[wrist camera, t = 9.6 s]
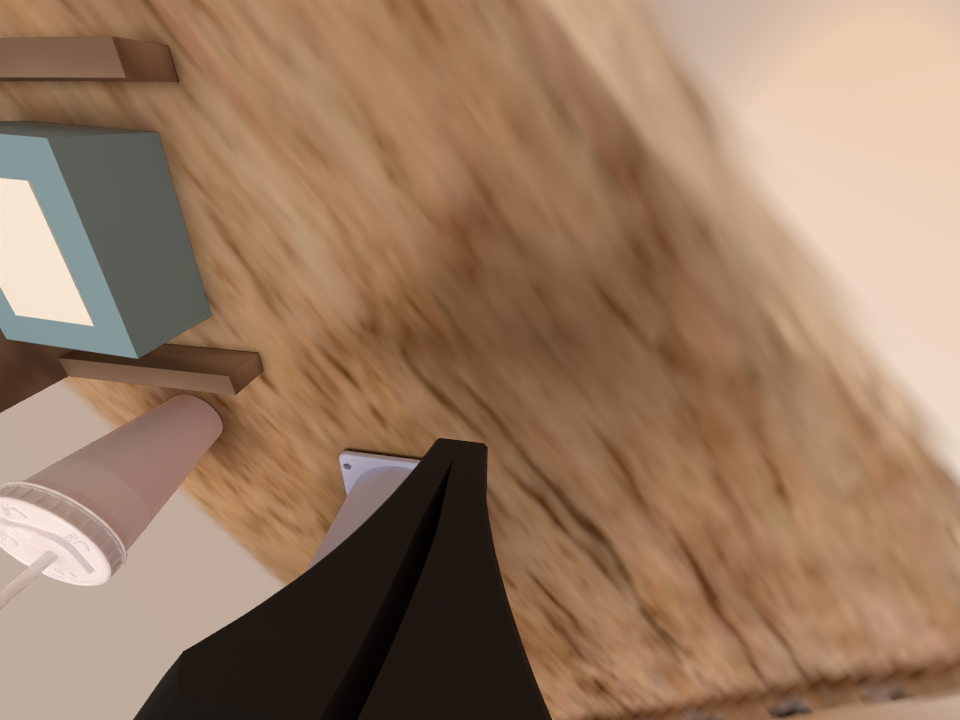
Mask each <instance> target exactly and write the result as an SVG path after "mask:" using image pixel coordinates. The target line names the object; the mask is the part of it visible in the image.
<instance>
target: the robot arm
mask: <svg viewBox="0 0 960 720" xmlns="http://www.w3.org/2000/svg"><path fill="white" fill-rule="evenodd" d="M487 455H488V447H487V446H486V445H485V444H484V443H476V442H468V441H460V440H452V439H443V438H439V439H438V440H436V441H435V443H434V444H433V445H432V447H431V448H430V449H429V451H428V452H427V453H426V455H425V456H424V457H423V458H422V460H415V459H407V458H399V457H391V456H383V455H376V454H368V453H360V452H352V451H344V452H342V453H341V455H340V456H339V461H340V466H341V470H342V475H343V480H344V484H345V489H346V494H347V498H346V499H345V501H344V503H343V505H342V507H341V508H340V510H339V512H338V514H337V516H336V517H335V519H334V521H333V523H332V525H331V526H330V528H329V530H328V532H327V534H326V535H325V537H324V539H323V541H322V543H321V544H320V546H319V548H318V550H317V552H316V554H315V555H314V557H313V559H312V561H311V563H310V564H309V566H308V568H307V570H306V572H305V573H304V574H302V575H301V576H300V577H298V578H297V579H296V580H294V581H293V582H292V583H290V584H289V585H287V586H286V587H284V588H283V589H281V590H280V591H279V592H277V593H276V594H274V595H273V596H271V597H270V598H268V599H267V600H266V601H264V602H263V603H262V604H260V605H258V606H257V607H255V608H254V609H252V610H251V611H249V612H248V613H246V614H245V615H243V616H242V617H240V618H238V619H237V620H235V621H233V622H232V623H230V624H228V625H227V626H225V627H223V628H222V629H220V630H219V631H217V632H215V633H214V634H212V635H210V636H209V637H207V638H205V639H204V640H202V641H201V642H199V643H197V644H195V645H194V646H192V647H190V648H188V649H187V650H185V651H183V653H182V654H181V655H180V656H179V658H178V659H177V660H176V662H175V663H174V664H173V665H172V667H171V668H170V669H169V670H168V671H167V672H166V674H165V675H164V677H163V678H162V679H161V681H160V682H159V684H158V685H157V686H156V688H155V689H154V691H153V692H152V693H151V695H150V696H149V698H148V699H147V701H146V702H145V704H144V705H143V706H142V708H141V709H140V711H139V712H138V714H137V715H136V716H135V718H134V719H133V720H552V719H551V716H550V714H549V711H548V709H547V707H546V704H545V702H544V699H543V697H542V694H541V692H540V689H539V687H538V684H537V682H536V679H535V677H534V674H533V672H532V669H531V666H530V664H529V661H528V658H527V655H526V653H525V650H524V647H523V645H522V642H521V639H520V635H519V632H518V629H517V626H516V623H515V620H514V617H513V614H512V611H511V608H510V605H509V602H508V599H507V595H506V591H505V588H504V584H503V581H502V577H501V573H500V569H499V565H498V561H497V557H496V553H495V548H494V543H493V538H492V533H491V528H490V522H489V516H488V508H487V500H486V494H487Z"/></svg>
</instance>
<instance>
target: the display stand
mask: <svg viewBox="0 0 960 720" xmlns="http://www.w3.org/2000/svg"><path fill="white" fill-rule="evenodd" d="M0 81H160V82H178V79H177V75H176V72H175V69H174V65H173V62H172V58H171V55H170V52H169V48H168V46H165V45H159V44H153V43H147V42H141V41H135V40H129V39H123V38H117V37H48V38H0ZM261 372H263V368H262V364H261V361H260V358H259V354H258V353H253V352H242V351H232V350H222V349H212V348H202V347H191V346H181V345H171V344H163V345H161V346H159V347H157V348H156V349H154V350H152V351H151V352H149V353H147V354H145V355H144V356H142V357H140V358H139V359H136V358H130V357H123V356H116V355H110V354H103V353H96V352H90V351H83V350H76V349H70V348H63V347H56V346H50V345H43V344H36V343H30V342H23V341H16V340H10V339H6V337H5V335H4V334H3V332H2V330H1V329H0V413H1V412H3V411H4V410H6V409H8V408H10V407H12V406H13V405H16V404H17V403H19V402H21V401H23V400H25V399H27V398H28V397H30V396H32V395H34V394H36V393H38V392H40V391H42V390H43V389H45V388H47V387H49V386H51V385H52V384H55V383H56V382H58V381H60V380H62V379H64V378H66V377H68V376H71V377H80V378H88V379H97V380H106V381H115V382H124V383H133V384H141V385H150V386H159V387H168V388H177V389H186V390H195V391H203V392H212V393H221V394H230V395H236V394H237V393H239V392H240V391H241V390H242V389H243V388H244V387H245V386H247V385H248V384H249V383H250V382H251V381H252V380H253V379H255V378H256V377H257V376H258V375H259V374H260V373H261Z"/></svg>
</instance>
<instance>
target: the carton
mask: <svg viewBox="0 0 960 720" xmlns="http://www.w3.org/2000/svg"><path fill="white" fill-rule="evenodd" d="M210 316H212V315H211V312H210V308H209V305H208V301H207V298H206V295H205V291H204V288H203V284H202V281H201V278H200V274H199V271H198V267H197V264H196V260H195V257H194V254H193V250H192V247H191V243H190V240H189V237H188V233H187V230H186V226H185V223H184V219H183V216H182V213H181V209H180V206H179V202H178V199H177V196H176V192H175V189H174V185H173V182H172V178H171V175H170V172H169V168H168V165H167V161H166V158H165V154H164V151H163V148H162V144H161V141H160V137H159V134H158V132H150V131H138V130H126V129H114V128H102V127H90V126H78V125H67V124H55V123H43V122H31V121H0V329H1V330H2V332H3V334H4V335H5V337H6V339H10V340H16V341H23V342H30V343H36V344H43V345H50V346H56V347H63V348H70V349H76V350H83V351H90V352H96V353H103V354H110V355H116V356H123V357H130V358H136V359H139V358H140V357H142V356H144V355H145V354H147V353H149V352H151V351H152V350H154V349H156V348H157V347H159V346H161V345H163V344H164V343H166V342H168V341H169V340H171V339H173V338H175V337H176V336H178V335H180V334H181V333H183V332H185V331H186V330H188V329H190V328H192V327H193V326H195V325H197V324H198V323H200V322H202V321H204V320H205V319H207V318H209V317H210Z"/></svg>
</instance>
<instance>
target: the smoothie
mask: <svg viewBox="0 0 960 720" xmlns="http://www.w3.org/2000/svg"><path fill="white" fill-rule="evenodd" d="M222 430H223V424H222V421H221V418H220V417H219V415H218V413H217V412H216V411H215V410H214V409H213V408H212V407H211V406H210V405H209V404H208V403H206V402H205V401H203V400H201V399H199V398H197V397H195V396H191V395H185V394H182V395H177V396H175V397H173V398H171V399H169V400H168V401H166V402H164V403H162V404H160V405H159V406H157V407H155V408H153V409H151V410H150V411H148V412H146V413H144V414H143V415H141V416H139V417H137V418H135V419H134V420H132V421H130V422H128V423H126V424H125V425H123V426H121V427H119V428H117V429H116V430H114V431H112V432H110V433H109V434H107V435H105V436H103V437H101V438H100V439H98V440H96V441H94V442H92V443H91V444H89V445H87V446H85V447H84V448H82V449H80V450H78V451H76V452H75V453H73V454H71V455H69V456H67V457H65V458H64V459H62V460H60V461H58V462H56V463H55V464H52V465H51V466H49V467H47V468H46V469H44V470H42V471H40V472H39V473H37V474H35V475H33V476H32V477H30V478H28V479H27V480H25V481H11V482H8V483H5V484H3V485H1V486H0V547H1V548H2V549H4V550H5V551H6V552H7V553H9V554H10V555H11V556H13V557H14V558H16V559H17V560H19V561H20V562H22V563H23V564H25V565H27V566H29V567H28V568H27V569H26V570H24V571H23V572H22V573H21V574H20V575H19V576H17V577H16V578H15V579H14V580H13V581H11V582H10V583H9V584H8V585H7V586H6V587H4V588H3V589H2V590H1V591H0V609H1V608H2V607H3V606H4V605H6V604H7V603H8V602H9V601H10V600H11V599H12V598H14V597H15V596H16V595H17V594H18V593H19V592H20V591H21V590H23V589H24V588H25V587H26V586H27V585H28V584H29V583H30V582H31V581H33V580H34V579H35V578H36V577H37V576H38V575H39V574H41V573H42V574H44V575H46V576H49V577H52V578H54V579H57V580H60V581H63V582H66V583H70V584H76V585H81V586H82V585H83V586H94V585H100V584H103V583H105V582H106V581H107V580H108V579H109V578H110V577H111V576H112V575H113V574H114V573H115V572H116V571H117V570H118V569H120V568H121V567H122V566H123V565H124V564H125V563H126V560H127V550H128V549H129V548H130V547H131V545H132V544H133V543H134V542H135V541H136V539H137V538H138V537H139V536H140V535H141V533H142V532H143V531H144V530H145V529H146V527H147V526H148V525H149V523H150V522H151V520H152V519H153V518H154V517H155V516H156V514H157V513H158V512H159V511H160V509H161V508H162V507H163V506H164V504H165V503H166V502H167V501H168V499H169V498H170V497H171V496H172V494H173V493H174V492H175V491H176V490H177V488H178V487H179V486H180V485H181V483H182V482H183V481H184V480H185V478H186V477H187V476H188V475H189V473H190V472H191V471H192V470H193V468H194V467H195V466H196V465H197V463H198V462H199V461H200V460H201V458H202V457H203V456H204V455H205V453H206V452H207V451H208V450H209V448H210V447H211V446H212V445H213V443H214V442H215V441H216V440H217V438H218V437H219V436H220V435H221V433H222Z"/></svg>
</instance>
